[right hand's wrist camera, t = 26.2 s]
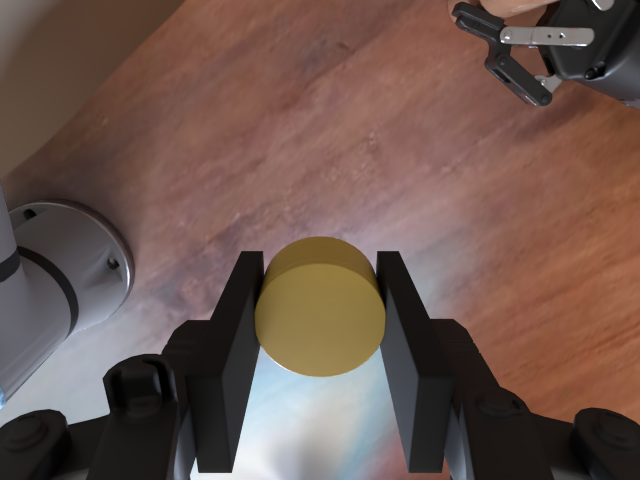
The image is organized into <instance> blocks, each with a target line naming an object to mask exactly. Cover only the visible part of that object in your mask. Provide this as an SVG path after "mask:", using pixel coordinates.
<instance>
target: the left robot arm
mask: <svg viewBox="0 0 640 480" xmlns="http://www.w3.org/2000/svg"><path fill="white" fill-rule="evenodd" d="M451 15H452V16H454V17H456V18H457V19H456V21H455V24H456V25H457V26H458V28H460V29H462V30H464V31H466V32H469V33H471V34H473V35H475V36H478V37H480V38H482V39H484V40H486V41H487V42H488V44H489V53H488V57H487V58H486V60H485V63H484V65H485V67H486V69H487V70H489V71H490V72H491V73H492V74H493V75H494V76H495V77H496V78H498V79H499V80H500V81H501V82H502V83H503V84H504V85H506V86H507V87H508V88H509V89H510V90H511V91H512V92H514V93H515V94H516V95H517V96H518V97H519V98H520V99H521V100H523V101H524V102H525V103H526V104H528V105H535V106H546V105H548V104H549V103H550V102H551V100H552V94H551V93H552V92H553V91H554V90H555V89H556V88H557V87H558V85H559V84H560V83H561V82H562V81H563V80H574V81H577V82H579V83H581V84H583V85H586V86H588V87H590V88H592V89H595V90H597V91H599V92H601V93H603V94H606V95H608V96H610V97H612V98H615V99H617V100H619V101H621V102H622V103H623V104H625V105H627V106H629V107H631V108H637V109H639V110H640V0H560V1H557V2H554V3H551V4H548V5H547V9H546V12H545V13H544V14H543V16H542V17H541V18H540V19H539V21H538V22H537V24H536V26H535V27H515V26H507V25H504V24H503V23H504V21H505V20H504V19H501V18H499V17H497V16H494V15H492V14H491V13H488V12H486V11H484V10H482V9H480V8H477V7H475V6H473V5H471V4H469V3H466V2H462V1H461V2H459V3H457V4H455V6H454V8H453V10H452V13H451ZM511 47H518V48H538V49H539V51H540V54H541V56H542V59H543V61H544V63H545V66H546V68H547V71H548V73H549V75H548V76H546V77H545V76H544V75H531V74H530V73H529V72H528V71H526V70H525V69H524V68H523V67H522V66H521V65H520V64H519V63H518V62H517V61H515V60H514V59H513V58H512V57H511V56H510V51H511Z"/></svg>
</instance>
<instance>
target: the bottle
mask: <svg viewBox="0 0 640 480" xmlns="http://www.w3.org/2000/svg"><path fill="white" fill-rule="evenodd" d="M461 1H462V2H466V3H469V4H471V5H473V6H475V7H477V8H480V9H482V10H484V11H486V12H488V13H491V14H492V15H494V16H497V17H499V18H501V19H506V18H509V17H512V16H515V15H518V14H521V13H524V12H527V11H530V10H533V9H536V8H539V7H542V6H545V5H548V4H551V3H554V2H557V1H560V0H448V10H449V14H450V16H451V18H452V20H453V21H454V23H455V21H456V19H457V18H456V17H454V16H452V15H451V13H452V10H453V8H454V6H455V4H457V3H459V2H461Z"/></svg>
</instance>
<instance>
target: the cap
mask: <svg viewBox="0 0 640 480" xmlns="http://www.w3.org/2000/svg"><path fill="white" fill-rule="evenodd" d="M385 318H386V310H385V306H384V302H383V299H382V295H381V292H380V288H379V285H378V281H377V278H376V274H375V272H374V269H373V267H372V265H371V263H370V262H369V260H368V259H367V258H366V256H365V255H364V254H363V253H362V252H361V251H360V250H358V249H357V248H356V247H354V246H353V245H351V244H349V243H347V242H345V241H342V240H339V239H336V238H331V237H309V238H305V239H301V240H298V241H296V242H293V243H291V244H289V245H288V246H286V247H285V248H283V249H282V250H281V251H280V252H279V253H278V254H276V256H275V257H274V258H273V259H272V261H271V262H270V264H269V266H268V267H267V270H266V272H265V275H264V279H263V282H262V286H261V289H260V293H259V296H258V300H257V303H256V307H255V329H256V336H257V338H258V341H259V343H260V345H261V346H262V348H263V349H264V351H265V352H266V354H267V355H268V356H269V357H270V358H271V359H272V360H274V361H275V362H276V363H277V364H279V365H280V366H282V367H283V368H285V369H287V370H289V371H291V372H294V373H297V374H300V375H305V376H311V377H330V376H335V375H340V374H343V373H346V372H349V371H351V370H353V369H355V368H357V367H358V366H360V365H362V364H363V363H364V362H366V361H367V360H368V359H369V358H370V357H371V356H372V355H373V354H374V353H375V351H376V350H377V349H378V347H379V345H380V343H381V342H382V339H383V337H384V332H385Z"/></svg>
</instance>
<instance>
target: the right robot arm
mask: <svg viewBox="0 0 640 480" xmlns="http://www.w3.org/2000/svg"><path fill="white" fill-rule="evenodd" d="M134 273H135V271H134V262H133V258H132V255H131V252H130V249H129V247H128V245H127V243H126V241H125V240H124V238H123V237H122V235H121V234H120V233H119V231H118V230H117V229H116V228H115V227H114V226H113V225H112V224H111V223H110V222H109V221H108V220H107V219H105V218H104V217H103V216H101V215H100V214H98V213H97V212H95V211H94V210H92V209H90V208H88V207H86V206H83V205H81V204H78V203H75V202H71V201H67V200H61V199H43V200H38V201H34V202H30V203H28V204H25V205H23V206H21V207H18V208H16V209H14V210H12V211H10V212H8V209H7V205H6V201H5V197H4V193H3V189H2V185H1V181H0V409H1V408H2V407H3V405H4V404H5V403H6V402H7V401H8V400H9V399H10V398H11V397H12V396H13V394H14V393H15V392H16V391H17V390H18V389H19V388H20V387H21V386H22V385H23V384H24V383H25V382H26V381H27V380H28V379H29V377H30V376H31V375H32V374H33V373H34V372H35V371H36V370H37V369H38V368H39V367H40V366H41V365H42V364H43V363H44V362H45V360H46V359H47V358H48V357H49V356H50V355H51V354H52V353H53V352H54V351H55V350H56V349H57V348H58V347H59V346H60V345H61V343H62V342H63V341H64V340H65V339H66V338H67V337H68V336H70V335H73V334H75V333H77V332H80V331H82V330H84V329H86V328H89V327H91V326H93V325H95V324H98V323H100V322H102V321H104V320H106V319H107V318H109V317H110V316H111V315H113V314H114V313H115V312H116V311H117V310H118V308H119V307H120V306H121V305H122V304H123V303H124V302H125V300H126V299H127V297H128V296H129V294H130V292H131V289H132V286H133V283H134ZM376 278H377V281H378V285H379V288H380V292H381V295H382V299H383V302H384V306H385V310H386V318H385V332H384V337H383V339H382V342H381V343H380V348H381V353H382V357H383V362H384V366H385V371H386V375H387V379H388V384H389V388H390V393H391V397H392V402H393V406H394V411H395V415H396V419H397V424H398V428H399V433H400V437H401V442H402V446H403V451H404V455H405V459H406V464H407V468H408V473H442V467H443V461H444V455H445V458H446V461H447V464H448V467H449V470H450V473H451V474H450V480H640V425H639V424H637V423H636V422H635V421H633V420H631V419H629V418H627V417H625V416H623V415H622V414H619V413H616V412H613V411H610V410H607V409H601V408H587V409H582V410H580V411H579V412H578V413H577V414H576V415H575V418H574V422H573V423H569V422H564V421H560V420H556V419H552V418H547V417H543V416H540V415H537V414H534V413H532V412H530V410H529V409H528V407H527V406H526V404H525V402H524V401H523V400H521V399H520V398H519V397H518V396H517V395H516V394H514V393H512V392H510V391H508V390H506V389H504V388H502V387H500V386H499V384H498V382H497V381H496V379H495V377H494V376H493V374H492V372H491V370H490V369H489V367H488V365H487V364H486V362H485V360H484V359H483V357H482V355H481V353H479V350H478V348H477V347H476V345H475V343H473V340H472V338H471V336H470V335H469V333H468V331H467V330H466V329H465V328H464V327H463V326H462V325H460V324H459V323H458V322H456V321H455V320H454V319H430V318H429V316H428V314H427V312H426V309H425V307H424V305H423V303H422V301H421V299H420V296H419V294H418V292H417V290H416V288H415V286H414V283H413V281H412V279H411V277H410V275H409V273H408V270H407V268H406V266H405V264H404V262H403V259H402V257H401V255H400V253H399V251H377V265H376ZM263 279H264V261H263V251H241V254H240V256H239V258H238V260H237V262H236V264H235V267H234V269H233V271H232V273H231V275H230V277H229V280H228V282H227V284H226V286H225V288H224V290H223V293H222V295H221V297H220V299H219V301H218V304H217V306H216V308H215V310H214V312H213V314H212V317H211V319H210V320H187V321H186V322H184V323H183V324H182V325H181V326H179V327H178V328H177V329H175V330H174V332H173V333H172V335H171V337H170V339H169V340H168V342H167V344H166V345H165V347H164V349H163V351H162V354H160V355H159V354H142V355H137V356H133V357H130V358H128V359H125V360H123V361H121V362H119V363H117V364H116V365H115V366H113V367H112V368H111V369H109V370H108V372H107V373H106V374H105V376H104V377H103V383H104V387H105V391H106V395H107V400H108V404H109V408H110V413H109V414H108V415H105V416H102V417H99V418H96V419H91V420H87V421H83V422H79V423H74V424H70V425H68V424H67V421H66V417H65V416H64V415H63V414H62V413H61V412H60V411H56V410H51V409H46V410H37V411H33V412H30V413H27V414H24V415H21V416H19V417H17V418H15V419H13V420H11V421H9V422H8V423H6V424H4V425H3V426H2V427H1V428H0V480H190V473H191V470H192V467H193V464H194V461H195V458H196V459H197V466H198V472H199V473H232V470H233V465H234V461H235V456H236V452H237V447H238V443H239V438H240V434H241V430H242V425H243V421H244V416H245V412H246V407H247V403H248V398H249V394H250V390H251V385H252V381H253V376H254V372H255V367H256V363H257V358H258V354H259V350H260V343H259V341H258V338H257V336H256V329H255V307H256V303H257V300H258V296H259V293H260V289H261V286H262V282H263Z"/></svg>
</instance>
